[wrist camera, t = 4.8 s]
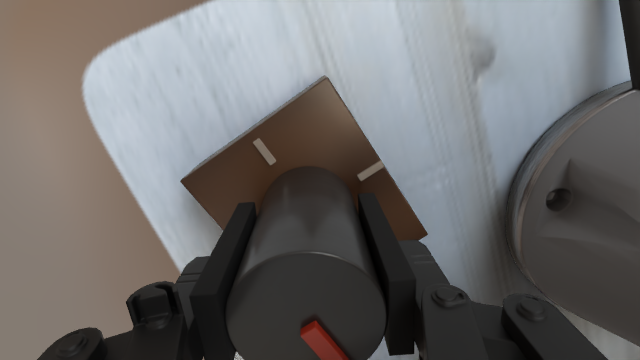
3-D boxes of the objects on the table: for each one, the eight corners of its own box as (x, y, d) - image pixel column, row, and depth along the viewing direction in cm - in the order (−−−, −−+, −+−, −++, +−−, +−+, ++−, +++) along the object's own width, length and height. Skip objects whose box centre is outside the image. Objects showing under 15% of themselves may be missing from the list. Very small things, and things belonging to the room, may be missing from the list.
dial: (244, 198, 17) (185, 314, 9) (321, 147, 16) (330, 225, 8) (298, 264, 18) (287, 414, 10) (371, 220, 17) (420, 346, 10)
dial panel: (198, 164, 19) (178, 182, 16) (324, 74, 18) (327, 76, 15) (296, 280, 22) (294, 314, 19) (412, 212, 21) (429, 236, 18)
